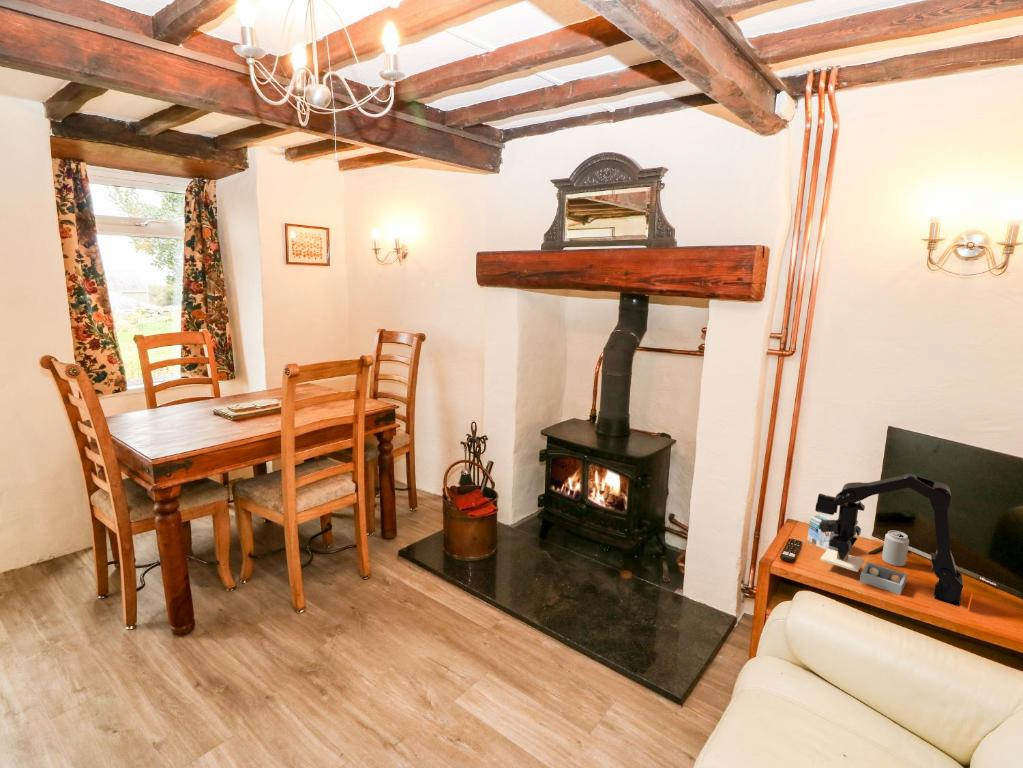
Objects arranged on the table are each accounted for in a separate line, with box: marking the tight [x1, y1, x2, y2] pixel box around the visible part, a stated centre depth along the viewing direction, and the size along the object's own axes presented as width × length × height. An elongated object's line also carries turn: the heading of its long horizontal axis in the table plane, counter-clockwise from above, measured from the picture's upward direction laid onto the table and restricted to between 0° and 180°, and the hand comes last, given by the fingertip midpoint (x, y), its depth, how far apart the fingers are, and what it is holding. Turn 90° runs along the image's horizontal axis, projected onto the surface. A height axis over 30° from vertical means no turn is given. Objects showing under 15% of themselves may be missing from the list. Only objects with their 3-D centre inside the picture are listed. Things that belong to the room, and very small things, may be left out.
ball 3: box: [891, 575, 901, 583], centre depth 194 cm, size 3×3×3 cm
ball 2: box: [880, 571, 890, 580], centre depth 196 cm, size 3×3×3 cm
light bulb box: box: [807, 514, 838, 551], centre depth 221 cm, size 11×7×11 cm, turn 17°
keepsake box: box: [859, 561, 908, 596], centre depth 194 cm, size 12×10×4 cm
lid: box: [819, 549, 865, 573], centre depth 202 cm, size 12×10×5 cm
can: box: [881, 529, 910, 567], centre depth 207 cm, size 8×8×12 cm
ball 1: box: [869, 568, 879, 576], centre depth 198 cm, size 3×3×3 cm
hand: (842, 557), depth 202 cm, fingers closed on lid, 3 cm apart
